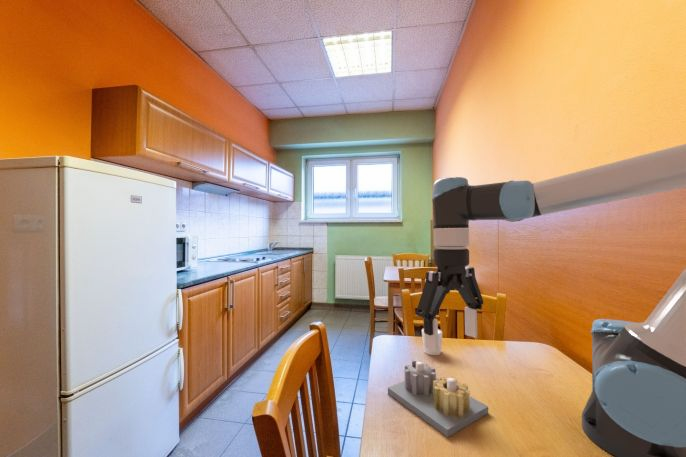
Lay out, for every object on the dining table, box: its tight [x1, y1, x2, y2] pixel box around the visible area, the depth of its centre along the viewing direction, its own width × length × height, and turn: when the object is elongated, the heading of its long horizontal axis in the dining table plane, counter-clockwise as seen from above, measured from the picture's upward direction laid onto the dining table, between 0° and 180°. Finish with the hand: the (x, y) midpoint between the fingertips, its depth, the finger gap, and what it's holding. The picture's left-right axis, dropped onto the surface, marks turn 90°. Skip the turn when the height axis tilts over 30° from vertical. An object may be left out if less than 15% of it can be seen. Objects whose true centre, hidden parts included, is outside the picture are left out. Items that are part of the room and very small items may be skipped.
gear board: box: [387, 360, 489, 438], centre depth 68 cm, size 18×14×8 cm
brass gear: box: [433, 377, 471, 418], centre depth 65 cm, size 8×8×4 cm
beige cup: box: [421, 327, 443, 356], centre depth 97 cm, size 7×7×7 cm
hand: (452, 342), depth 64 cm, fingers open, 13 cm apart
